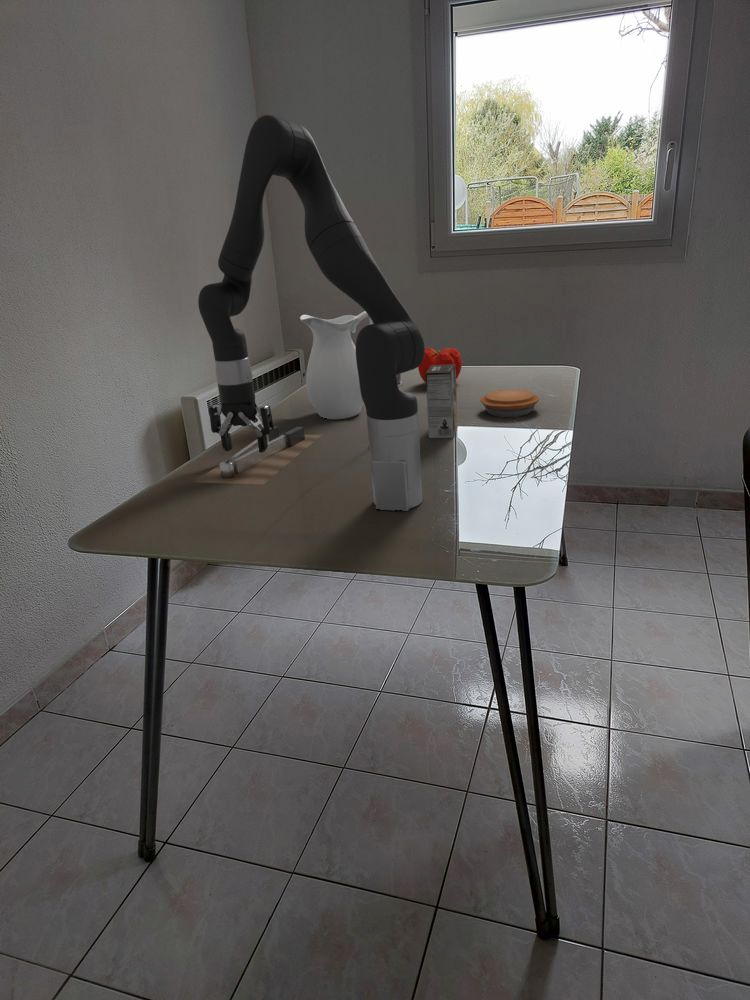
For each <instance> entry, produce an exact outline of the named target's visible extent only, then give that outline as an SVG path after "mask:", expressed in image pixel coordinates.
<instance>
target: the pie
mask: <svg viewBox="0 0 750 1000" xmlns="http://www.w3.org/2000/svg"><path fill="white" fill-rule="evenodd" d="M479 401H480V402H481V404H482V405H483V407H484V408H485V409H486V411H487V413H488V414H490V415H491V416H494V415H495V416H494V417H499V416H501V417H500V418H516V416H517V417H522V415H523V416H527V415H529V414H530V413H532V411H533V410H534V408H535V405H537V404H538V403H539V401H540V396H539V395H538V394H535V393H533V392H531V391H529V390H525V389H524V390H523V389H501V390H494V391H491V392H489V393H487V394H485V395H484V396H482V397H480V399H479Z"/></svg>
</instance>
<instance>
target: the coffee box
mask: <svg viewBox="0 0 750 1000" xmlns="http://www.w3.org/2000/svg"><path fill="white" fill-rule="evenodd" d="M425 387H426V388H425V389H426V407H427V409H426V410H427V429H428V431H427V432H428V438H429V439H454V438H455V436H456V432H457V429H458V427H459V425H458V401H457V379H456V364H450V365H431V366H430V367H429V369H428V370H427V372H426V383H425Z"/></svg>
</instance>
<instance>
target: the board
mask: <svg viewBox="0 0 750 1000" xmlns="http://www.w3.org/2000/svg"><path fill="white" fill-rule="evenodd" d="M283 434H284V433H282V434H280V433H279V435H280V436H282V435H283ZM304 435H305V439H304V440H302V441H301V442H299V443H297V444H295V445H293V446H291V447H290V446H288V447H286V448H284V449H282V450H281V451H279V452H277V453H275V454H273V455H271V456H269V457H268V458H266V459H264V460H262V461H260V462H258V463H256V464H255V465H253V466H251V467H249V468H247V469H245V470H243V471H242V472H240V473H235V476H234V477H233V478H229V479H223V478H222V476H221V470H220V464H218V465H217V466H216V467H213V468H212V469H211V470H209V471H208V472H206V473H205V474H204V475H202V476H201V477H199V478H198V479H197V480H195V481H194V483H196V484H197V483H202V484H221V485H222V484H225V485H226V484H228V485H229V484H230V485H248V486H250V485H252V486H264V485H265V484H266V483H267V482H268V481H269V480H271V479H272V478H273V477H274V476H276V475H277V474H278V473H279V472H280V471H282V470H283V469H284V468H286V466H287V465H288V464H290V463H291V462H292V461H293V460H294V459H296V458H297V457H298V456H299V455H301V454H302V453H303V452H304V451H305V450H306V449H307V448H308V447H310V446H311V445H312V444H313V443H314V442H316V441H317V440H318V439H319V438H320V437H321V436H322V435H323V434H304ZM255 440H257V438H256V439H254V440H253V441H252V442H250V443H248V444H247V445H246V446H245V447H247V446H248V445H250V444H251V443H253V442H254V441H255ZM245 447H243V448H242V449H244V448H245ZM242 449H240V450H238V451H237V452H236V453H234V454H233V455H231V456H230V457H228V458H227V459H225V460H224V461H227V460H228V459H229V458H231V457H232V456H234V455H235V454H237V453H238V452H240V451H241V450H242Z"/></svg>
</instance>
